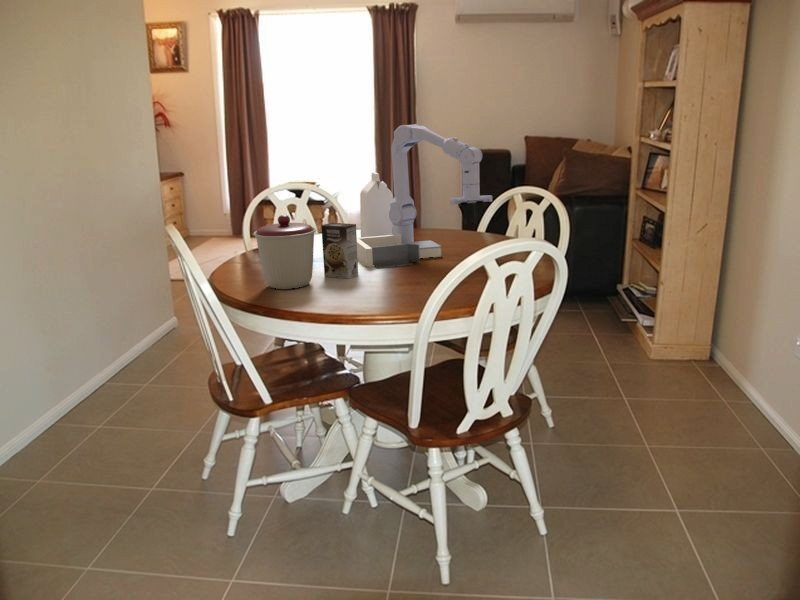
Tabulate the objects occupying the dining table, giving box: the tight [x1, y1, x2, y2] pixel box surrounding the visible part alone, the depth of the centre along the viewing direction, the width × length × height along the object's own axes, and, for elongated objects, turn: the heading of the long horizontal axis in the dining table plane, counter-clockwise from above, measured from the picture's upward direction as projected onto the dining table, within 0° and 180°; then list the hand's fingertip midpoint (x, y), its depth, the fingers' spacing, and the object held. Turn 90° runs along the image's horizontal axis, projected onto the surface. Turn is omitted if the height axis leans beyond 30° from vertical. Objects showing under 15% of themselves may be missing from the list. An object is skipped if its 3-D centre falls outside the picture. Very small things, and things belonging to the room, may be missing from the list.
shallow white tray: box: [357, 234, 402, 268], centre depth 244 cm, size 22×18×6 cm
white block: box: [407, 240, 443, 259], centre depth 247 cm, size 12×9×4 cm
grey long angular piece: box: [371, 244, 421, 269], centre depth 233 cm, size 6×16×6 cm, turn 106°
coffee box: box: [320, 222, 359, 280], centre depth 220 cm, size 9×6×16 cm
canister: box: [253, 214, 317, 290], centre depth 209 cm, size 18×18×21 cm
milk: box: [359, 172, 394, 238], centre depth 274 cm, size 12×12×26 cm
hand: (471, 224), depth 242 cm, fingers open, 3 cm apart
